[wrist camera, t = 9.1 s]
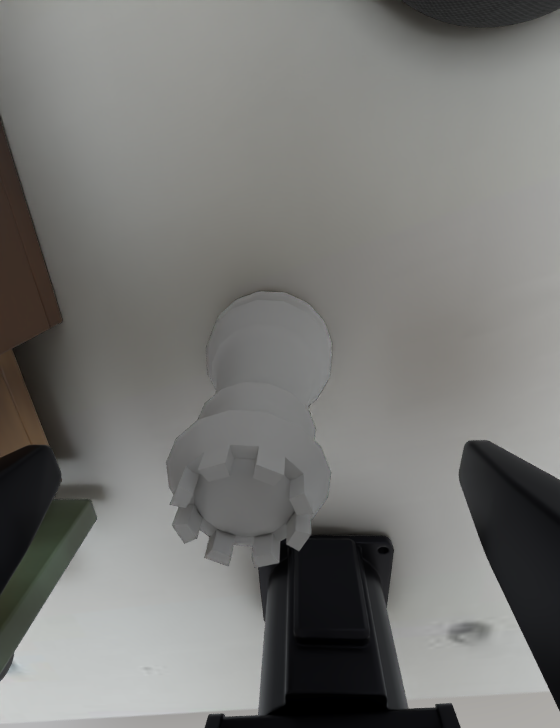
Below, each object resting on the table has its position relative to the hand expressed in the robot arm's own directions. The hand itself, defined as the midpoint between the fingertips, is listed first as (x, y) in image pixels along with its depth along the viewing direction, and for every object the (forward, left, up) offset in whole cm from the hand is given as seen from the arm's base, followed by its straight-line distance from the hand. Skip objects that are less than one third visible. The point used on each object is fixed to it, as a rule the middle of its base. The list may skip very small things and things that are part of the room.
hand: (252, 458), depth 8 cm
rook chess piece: (0, 0, -7) cm, 7 cm away
